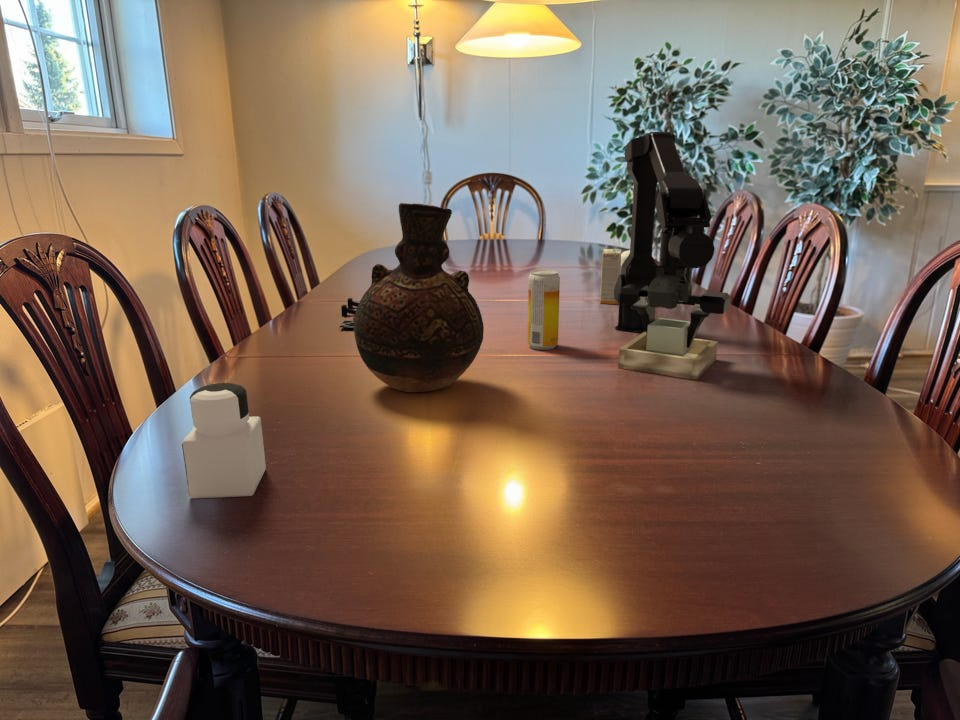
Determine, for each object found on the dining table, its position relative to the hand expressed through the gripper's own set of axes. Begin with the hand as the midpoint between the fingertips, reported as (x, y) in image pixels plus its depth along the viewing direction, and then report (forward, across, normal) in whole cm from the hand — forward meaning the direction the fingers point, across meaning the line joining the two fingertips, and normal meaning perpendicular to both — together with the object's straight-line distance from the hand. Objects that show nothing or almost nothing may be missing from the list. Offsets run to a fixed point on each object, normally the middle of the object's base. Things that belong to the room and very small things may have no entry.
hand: (669, 344), depth 124 cm
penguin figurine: (+4, -38, +80) cm, 89 cm away
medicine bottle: (+4, -31, -73) cm, 79 cm away
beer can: (+4, -25, -1) cm, 25 cm away
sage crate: (+1, 0, 0) cm, 1 cm away
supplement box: (+4, -29, +47) cm, 55 cm away
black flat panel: (+4, -72, +4) cm, 73 cm away
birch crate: (+4, 0, 0) cm, 4 cm away
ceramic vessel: (+4, -32, -33) cm, 46 cm away
